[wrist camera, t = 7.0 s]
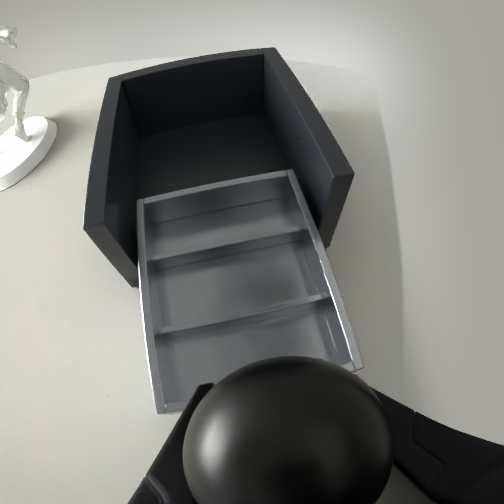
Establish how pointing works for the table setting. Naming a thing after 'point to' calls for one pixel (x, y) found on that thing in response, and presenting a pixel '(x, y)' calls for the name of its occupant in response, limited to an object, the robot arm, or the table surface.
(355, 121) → the table surface
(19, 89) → the figurine
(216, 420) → the pull-out drawer
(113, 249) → the grey drawer case
